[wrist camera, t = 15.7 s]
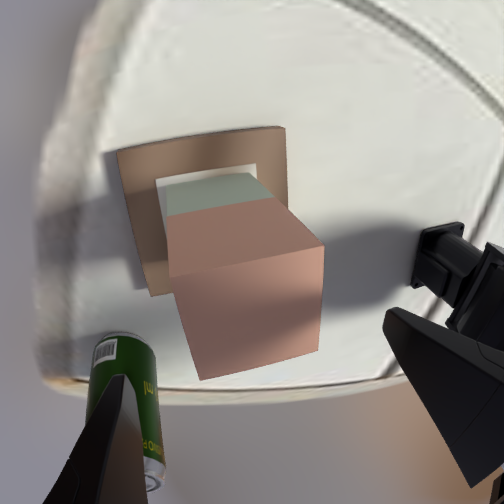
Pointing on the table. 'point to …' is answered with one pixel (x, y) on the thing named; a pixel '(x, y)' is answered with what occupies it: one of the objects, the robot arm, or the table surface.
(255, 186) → the brick sage
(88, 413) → the beer can
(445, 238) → the robot arm
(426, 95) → the table surface
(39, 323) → the table surface
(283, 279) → the dusty pink cube
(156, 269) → the tower base
